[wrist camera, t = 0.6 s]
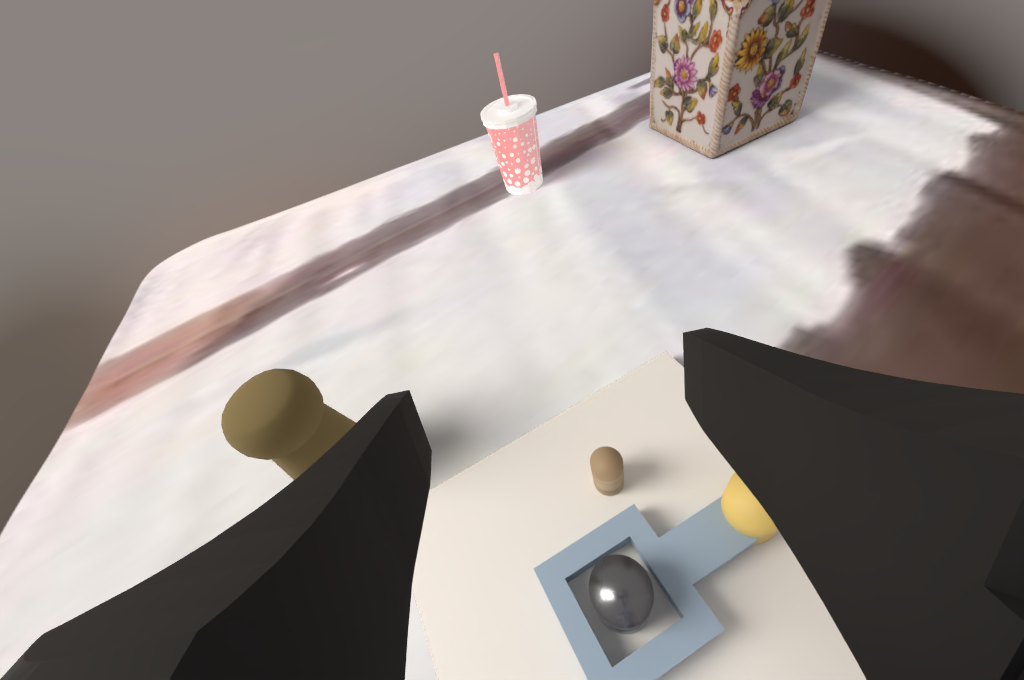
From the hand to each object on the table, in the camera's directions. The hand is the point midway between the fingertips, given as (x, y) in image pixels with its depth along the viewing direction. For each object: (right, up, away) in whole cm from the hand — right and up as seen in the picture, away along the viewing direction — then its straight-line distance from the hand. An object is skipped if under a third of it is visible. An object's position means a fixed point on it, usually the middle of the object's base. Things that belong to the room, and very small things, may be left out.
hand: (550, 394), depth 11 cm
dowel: (+5, -8, +15) cm, 18 cm away
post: (+5, -13, +11) cm, 18 cm away
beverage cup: (+1, +20, +40) cm, 45 cm away
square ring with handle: (+7, -10, +11) cm, 16 cm away
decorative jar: (+24, +27, +39) cm, 53 cm away
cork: (-13, -9, +20) cm, 25 cm away
